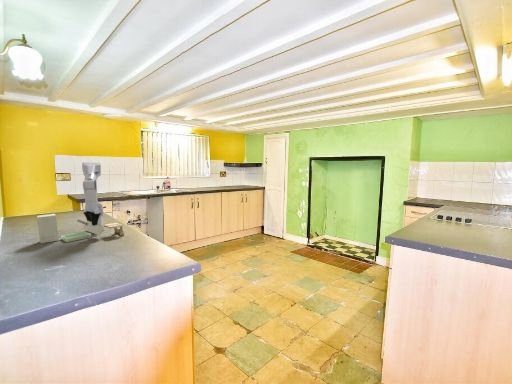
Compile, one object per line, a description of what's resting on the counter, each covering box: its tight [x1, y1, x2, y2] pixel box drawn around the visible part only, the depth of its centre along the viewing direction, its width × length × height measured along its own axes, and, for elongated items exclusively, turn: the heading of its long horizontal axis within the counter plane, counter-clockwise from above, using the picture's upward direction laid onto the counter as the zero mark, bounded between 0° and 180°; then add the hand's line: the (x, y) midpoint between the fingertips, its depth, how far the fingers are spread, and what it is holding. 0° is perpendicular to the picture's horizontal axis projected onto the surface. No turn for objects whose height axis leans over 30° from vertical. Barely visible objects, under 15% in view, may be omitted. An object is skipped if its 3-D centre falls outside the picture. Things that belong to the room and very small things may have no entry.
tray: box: [60, 230, 93, 243], centre depth 150 cm, size 10×12×2 cm
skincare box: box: [36, 213, 60, 244], centre depth 144 cm, size 8×6×15 cm
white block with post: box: [76, 219, 105, 236], centre depth 147 cm, size 6×14×5 cm
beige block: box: [103, 222, 125, 237], centre depth 156 cm, size 9×8×7 cm
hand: (92, 224), depth 149 cm, fingers closed on white block with post, 6 cm apart
